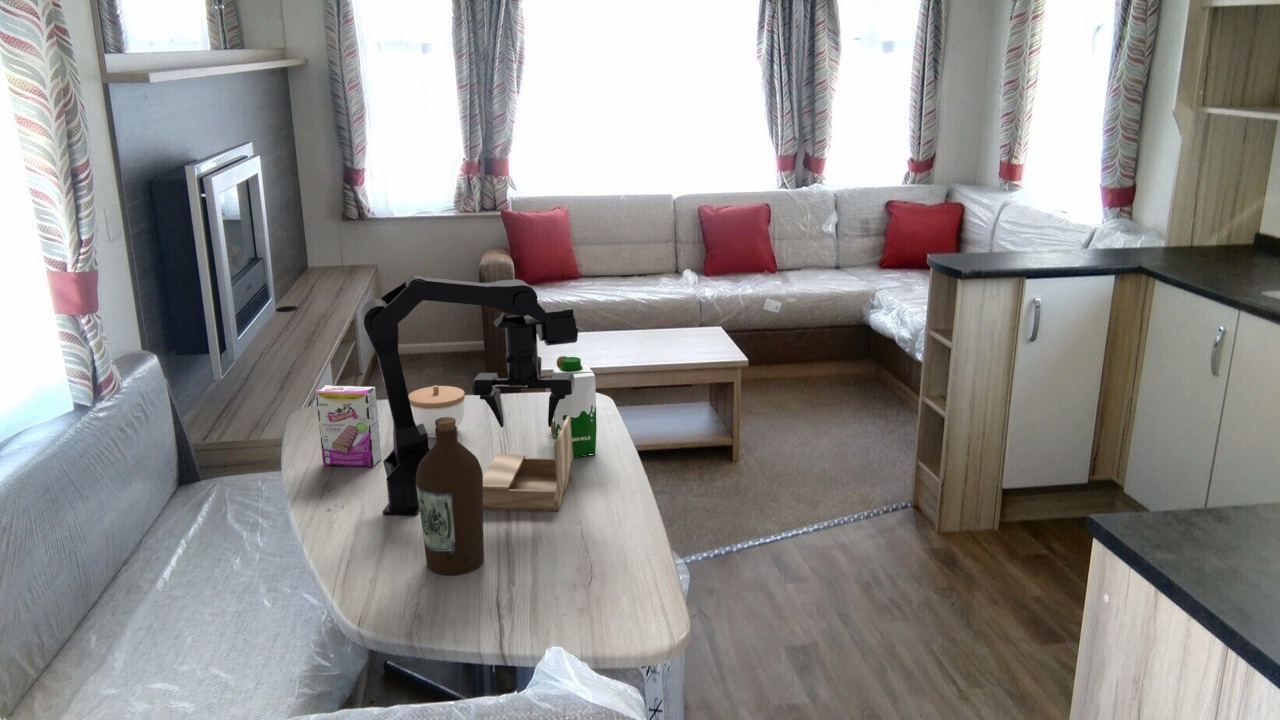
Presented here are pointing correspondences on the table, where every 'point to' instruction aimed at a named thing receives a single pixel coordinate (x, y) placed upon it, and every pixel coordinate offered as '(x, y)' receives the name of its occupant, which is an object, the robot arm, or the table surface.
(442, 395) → the lidded bowl
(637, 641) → the table surface
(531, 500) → the wooden box
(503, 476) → the flap
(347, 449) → the candy bar box
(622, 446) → the table surface
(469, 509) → the olive oil
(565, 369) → the milk carton
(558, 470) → the flap
